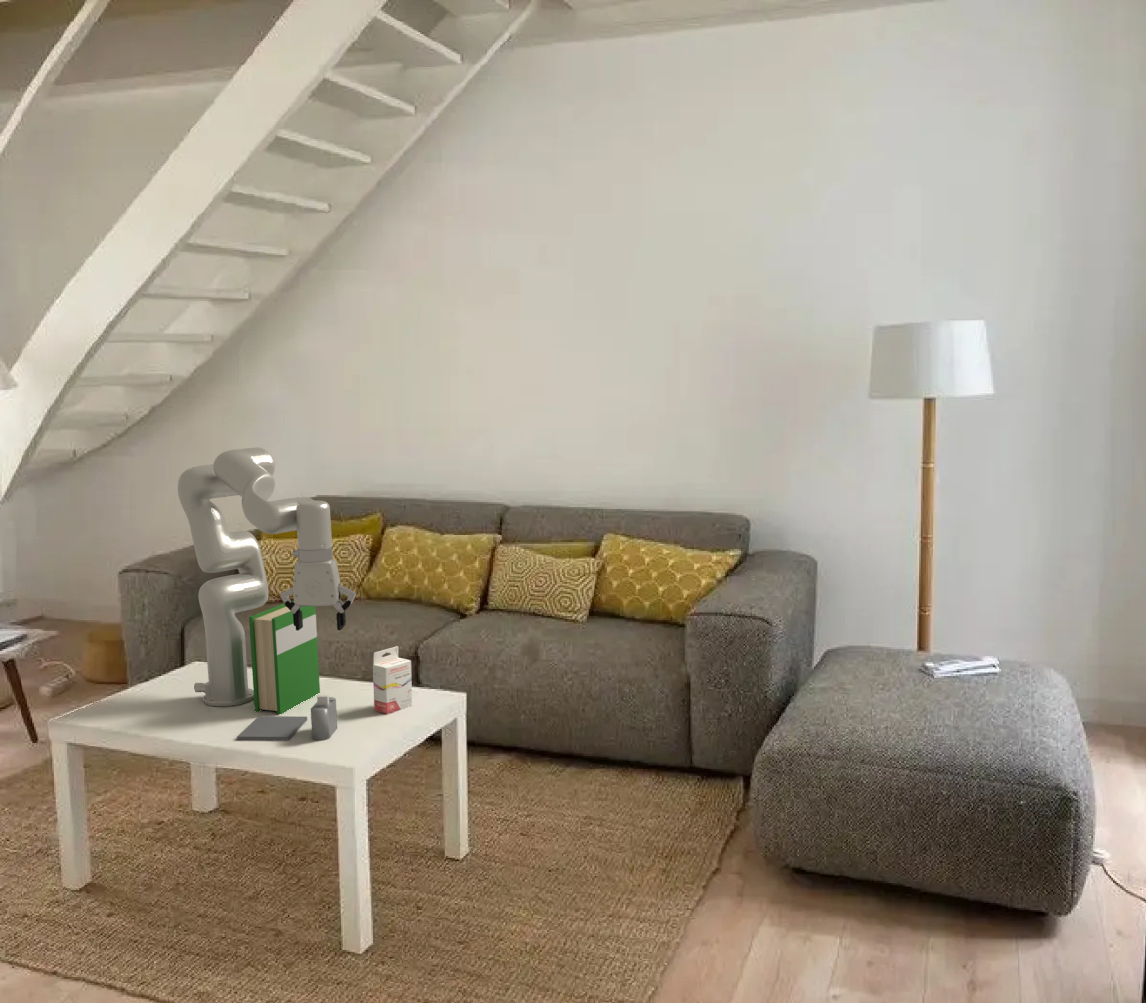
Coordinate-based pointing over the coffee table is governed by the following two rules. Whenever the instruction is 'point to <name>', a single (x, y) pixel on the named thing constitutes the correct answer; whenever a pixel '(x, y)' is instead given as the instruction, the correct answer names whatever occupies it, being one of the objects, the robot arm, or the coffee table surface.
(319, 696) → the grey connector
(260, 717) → the charcoal mat
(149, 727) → the coffee table surface
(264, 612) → the hardback book
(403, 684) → the ink cartridge box
